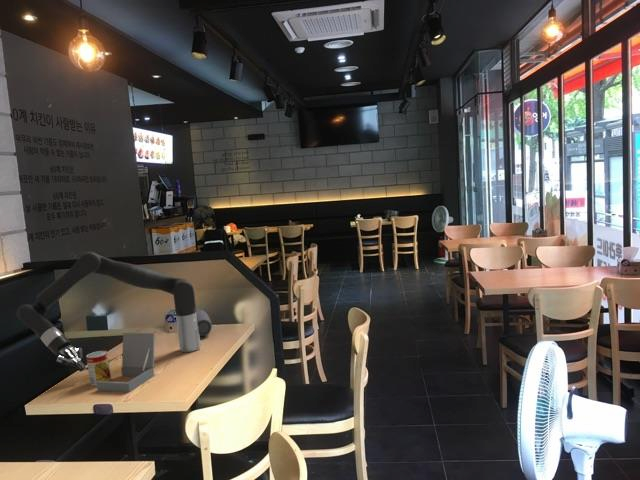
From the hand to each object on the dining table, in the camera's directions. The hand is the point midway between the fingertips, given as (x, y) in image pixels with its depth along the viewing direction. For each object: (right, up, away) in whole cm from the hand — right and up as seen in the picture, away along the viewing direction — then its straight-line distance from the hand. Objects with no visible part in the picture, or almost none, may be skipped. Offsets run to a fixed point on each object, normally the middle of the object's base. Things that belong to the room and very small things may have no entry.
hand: (83, 369), depth 218 cm
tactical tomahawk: (+2, -3, +23) cm, 23 cm away
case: (+20, -4, -4) cm, 21 cm away
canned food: (+8, -5, -2) cm, 10 cm away
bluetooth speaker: (+36, +5, +58) cm, 68 cm away
